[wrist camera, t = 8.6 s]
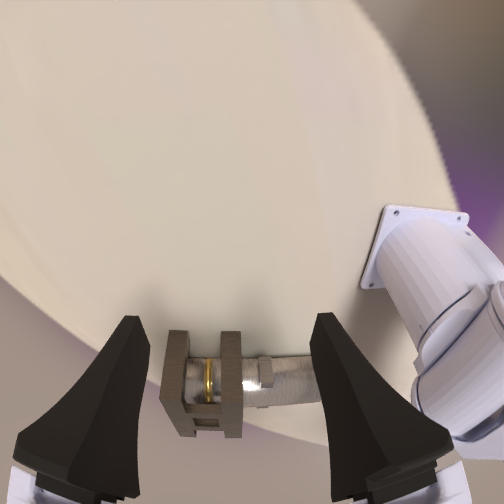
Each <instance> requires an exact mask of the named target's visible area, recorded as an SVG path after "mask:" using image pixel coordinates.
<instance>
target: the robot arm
mask: <svg viewBox="0 0 504 504" xmlns="http://www.w3.org/2000/svg"><path fill="white" fill-rule="evenodd" d="M395 211H397V212H396V213H395V214H394V212H395ZM468 221H469V215H468V214H467V213H462V212H455V211H446V210H438V209H429V208H419V207H409V206H398V205H388V206H386V207H385V208H384V210H383V214H382V217H381V221H380V224H379V228H378V231H377V234H376V238H375V241H374V244H373V247H372V250H371V253H370V256H369V259H368V262H367V265H366V268H365V271H364V274H363V277H362V280H361V283H360V285H361V287H362V289H379V288H386V289H387V291H388V293H389V295H390V297H391V299H392V301H393V302H394V304H395V306H396V308H397V310H398V312H399V314H400V316H401V318H402V320H403V322H404V324H405V326H406V328H407V330H408V332H409V334H410V337H411V339H412V341H413V343H414V345H415V347H416V349H417V351H418V357H417V358H416V360H415V361H414V362H413V363H414V366H415V368H416V370H417V373H418V376H417V377H416V378H415V380H414V382H413V384H412V388H411V404H410V403H409V402H408V401H407V400H405V399H404V398H403V397H402V396H401V395H400V394H399V393H398V392H397V391H395V390H394V389H393V388H392V387H391V386H390V385H389V384H388V383H387V382H386V381H385V380H384V379H383V378H382V376H381V375H380V374H379V373H378V372H377V371H376V370H375V369H374V367H373V366H372V365H371V364H370V363H369V362H368V360H367V359H366V358H365V357H364V355H363V354H362V353H361V351H360V350H359V349H358V348H357V346H356V345H355V344H354V342H353V341H352V340H351V338H350V337H349V335H348V334H347V333H346V331H345V330H344V328H343V327H342V325H341V324H340V322H339V321H338V319H337V318H336V317H335V315H334V314H333V313H332V312H330V313H318V314H317V318H316V322H315V326H314V329H313V333H312V337H311V340H310V351H311V358H312V365H313V369H314V373H315V377H316V381H317V385H318V389H319V392H320V396H321V400H322V404H323V408H324V413H325V418H326V425H327V433H328V442H329V453H330V469H331V499H332V502H338V501H342V500H346V499H350V498H353V500H354V502H352V503H348V504H472V499H471V495H470V491H469V487H468V482H467V479H466V475H465V471H464V468H463V464H462V461H458V462H456V463H454V464H452V465H450V466H448V467H446V468H444V469H442V470H440V471H438V472H435V469H434V468H435V467H437V462H436V459H438V458H440V457H442V456H444V455H445V454H447V453H448V452H450V451H452V450H453V449H455V450H456V451H457V453H458V454H459V455H460V456H461V457H462V458H465V459H498V460H503V461H504V266H503V264H502V263H501V262H500V261H499V259H498V258H497V257H496V256H495V255H494V254H493V253H492V252H491V250H490V249H489V248H488V247H487V246H486V245H485V244H484V243H483V242H482V241H481V240H480V239H479V238H478V237H477V236H476V235H475V234H474V233H473V232H472V231H471V230H470V229H469V228H468V227H467V224H468ZM149 356H150V344H149V341H148V339H147V336H146V334H145V331H144V328H143V326H142V323H141V321H140V318H139V316H126V315H125V316H124V318H123V319H122V320H121V322H120V323H119V325H118V326H117V328H116V329H115V331H114V332H113V334H112V335H111V337H110V338H109V340H108V341H107V343H106V344H105V345H104V347H103V348H102V350H101V351H100V352H99V354H98V355H97V357H96V358H95V360H94V361H93V362H92V363H91V365H90V366H89V367H88V369H87V370H86V371H85V373H84V374H83V375H82V376H81V378H80V379H79V380H78V381H77V382H76V383H75V384H74V386H73V387H72V388H71V389H70V390H69V391H68V392H67V393H66V394H65V395H64V396H63V397H62V398H61V399H60V401H58V402H57V403H56V404H55V405H54V406H53V407H52V408H51V409H50V410H49V411H47V412H46V413H45V414H44V415H43V416H42V417H40V418H39V419H38V420H37V421H35V422H34V423H33V424H31V425H30V426H28V427H27V428H25V429H24V430H23V431H21V432H20V433H19V434H18V437H17V440H16V445H15V449H14V454H13V459H14V460H15V461H17V462H19V463H21V464H23V465H25V466H27V467H29V468H31V469H33V470H35V471H37V476H35V475H32V474H30V473H28V472H26V471H24V470H22V469H20V468H18V467H16V466H14V465H13V466H12V470H11V475H10V481H9V489H8V496H7V504H116V502H117V500H122V501H124V497H129V498H136V497H138V496H139V495H140V489H139V478H138V461H137V438H138V420H139V412H140V407H141V401H142V397H143V392H144V387H145V382H146V377H147V372H148V366H149Z"/></svg>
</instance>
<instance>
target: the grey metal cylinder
mask: <svg viewBox="0 0 504 504" xmlns="http://www.w3.org/2000/svg"><path fill="white" fill-rule="evenodd" d="M242 381H243V407H257V408H268V406H280V405H293V404H304V403H314V402H320V401H321V396H320V392H319V389H318V385H317V381H316V377H315V373H314V369H313V365H312V358H311V356H301V357H284V358H271V356H266V357H259V359H242ZM185 401H186V403H192V404H221V359H211V358H206V359H198V358H188V363H187V374H186V385H185Z"/></svg>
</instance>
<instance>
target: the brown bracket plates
mask: <svg viewBox="0 0 504 504" xmlns="http://www.w3.org/2000/svg"><path fill="white" fill-rule="evenodd" d="M189 343H190V340H189V334H188V331H177V330H169V336H168V342H167V348H166V354H165V361H164V367H163V374H162V381H161V389H160V397H159V399H160V401H161V403H162V405H163V407H164V408H165V410H166V412H167V414H168V416H169V418H170V419H171V421H172V423H173V425H174V426H175V428H176V430H177V432H178V433H179V435H180V436H184V437H196V431H197V430H209V431H224V433H225V438H242V420H243V381H242V357H241V332H240V331H221V404H192V403H186V401H185V385H186V374H187V363H188V353H189Z"/></svg>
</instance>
